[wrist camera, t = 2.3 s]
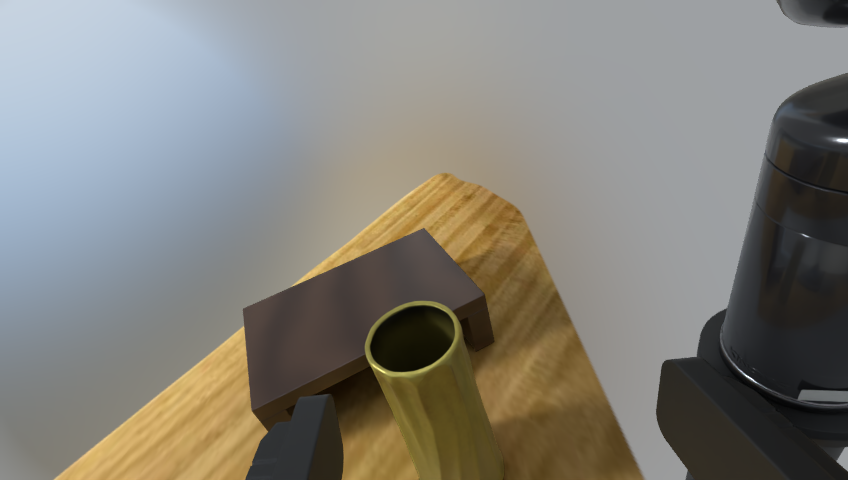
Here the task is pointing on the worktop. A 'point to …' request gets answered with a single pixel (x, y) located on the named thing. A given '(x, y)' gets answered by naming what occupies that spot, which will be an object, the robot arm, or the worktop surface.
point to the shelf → (348, 320)
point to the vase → (434, 392)
